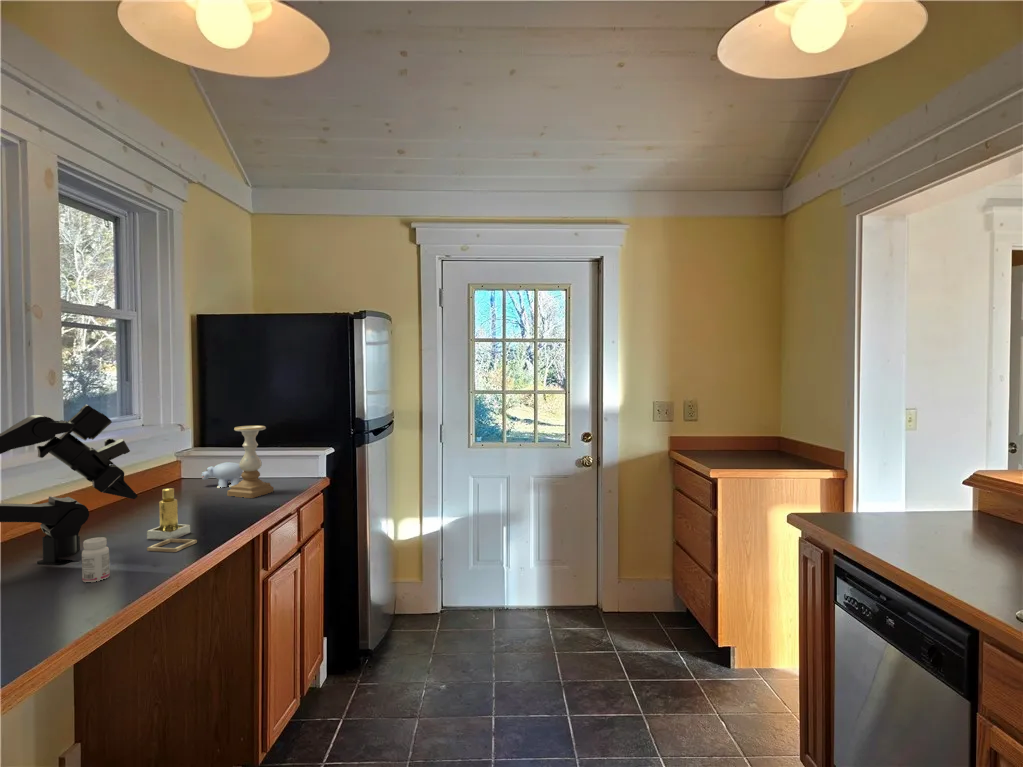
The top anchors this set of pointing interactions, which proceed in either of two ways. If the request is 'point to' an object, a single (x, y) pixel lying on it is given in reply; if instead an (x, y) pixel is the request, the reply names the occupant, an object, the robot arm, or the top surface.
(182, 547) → the tan flat square frame
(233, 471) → the hippopotamus toy
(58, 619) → the top surface
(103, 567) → the pill bottle
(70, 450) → the robot arm
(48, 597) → the top surface
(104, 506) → the top surface
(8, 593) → the top surface
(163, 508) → the gold bottle
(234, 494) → the candle holder
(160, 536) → the socket
